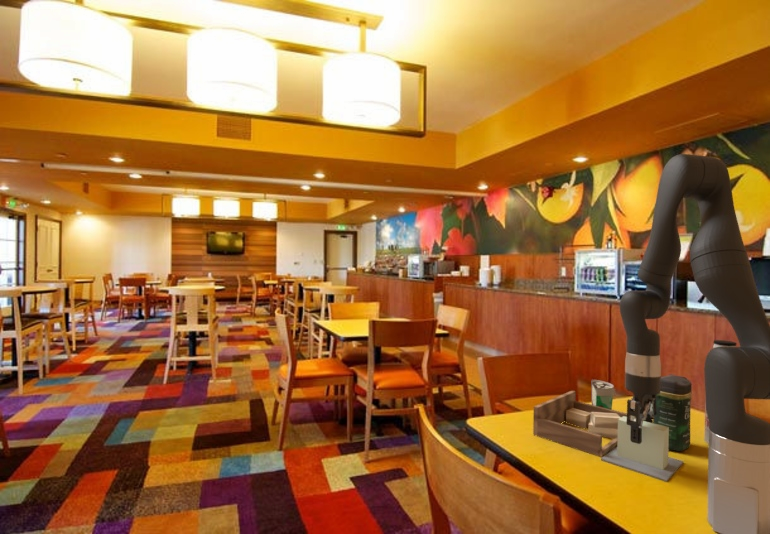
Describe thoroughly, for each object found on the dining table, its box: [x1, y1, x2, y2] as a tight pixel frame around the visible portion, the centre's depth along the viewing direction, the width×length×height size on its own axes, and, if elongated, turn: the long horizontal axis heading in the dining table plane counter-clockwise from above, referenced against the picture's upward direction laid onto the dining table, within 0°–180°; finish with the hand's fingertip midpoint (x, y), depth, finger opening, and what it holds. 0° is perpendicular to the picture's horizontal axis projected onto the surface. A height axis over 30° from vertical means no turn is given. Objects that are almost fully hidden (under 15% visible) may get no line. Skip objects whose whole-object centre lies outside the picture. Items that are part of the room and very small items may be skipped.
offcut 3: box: [587, 422, 618, 440], centre depth 123 cm, size 5×8×3 cm, turn 53°
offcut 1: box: [565, 408, 591, 430], centre depth 130 cm, size 4×6×4 cm, turn 39°
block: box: [617, 416, 669, 470], centre depth 106 cm, size 4×10×9 cm, turn 42°
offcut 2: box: [591, 412, 621, 429], centre depth 123 cm, size 4×7×3 cm, turn 80°
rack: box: [532, 390, 627, 458], centre depth 123 cm, size 24×19×8 cm
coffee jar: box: [652, 374, 693, 452], centre depth 116 cm, size 10×8×19 cm
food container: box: [591, 379, 616, 410], centre depth 138 cm, size 12×6×10 cm, turn 161°
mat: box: [600, 447, 684, 483], centre depth 106 cm, size 14×14×1 cm
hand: (641, 438), depth 106 cm, fingers open, 8 cm apart
